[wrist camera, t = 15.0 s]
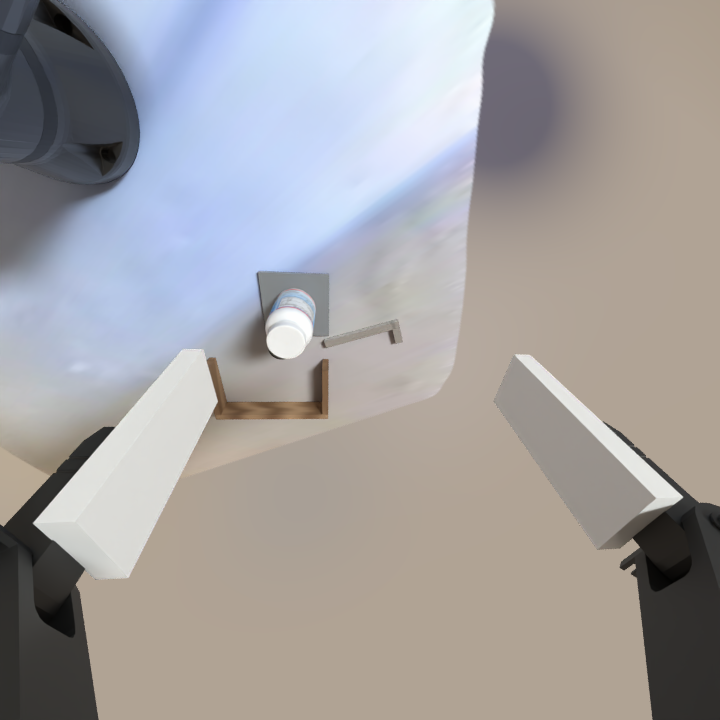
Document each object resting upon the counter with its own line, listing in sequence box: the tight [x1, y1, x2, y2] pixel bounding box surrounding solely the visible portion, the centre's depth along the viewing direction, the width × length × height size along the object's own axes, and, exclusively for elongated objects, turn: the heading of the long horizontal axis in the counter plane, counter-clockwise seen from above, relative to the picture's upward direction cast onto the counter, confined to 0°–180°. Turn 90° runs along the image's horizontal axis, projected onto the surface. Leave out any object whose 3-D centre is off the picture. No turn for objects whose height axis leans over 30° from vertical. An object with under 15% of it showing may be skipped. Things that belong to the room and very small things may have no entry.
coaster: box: [258, 271, 329, 336], centre depth 43 cm, size 10×10×1 cm
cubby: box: [207, 358, 328, 419], centre depth 50 cm, size 20×11×4 cm, turn 86°
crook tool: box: [324, 319, 403, 348], centre depth 47 cm, size 4×13×1 cm, turn 105°
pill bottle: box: [265, 288, 316, 359], centre depth 38 cm, size 6×6×11 cm
